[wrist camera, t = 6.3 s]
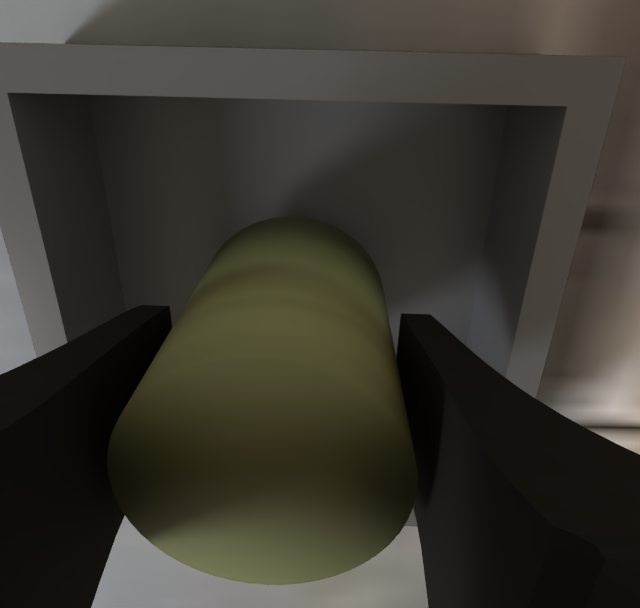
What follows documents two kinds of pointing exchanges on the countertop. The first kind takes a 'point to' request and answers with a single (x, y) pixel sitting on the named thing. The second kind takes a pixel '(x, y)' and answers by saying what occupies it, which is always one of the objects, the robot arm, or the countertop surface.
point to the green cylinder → (272, 415)
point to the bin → (301, 177)
